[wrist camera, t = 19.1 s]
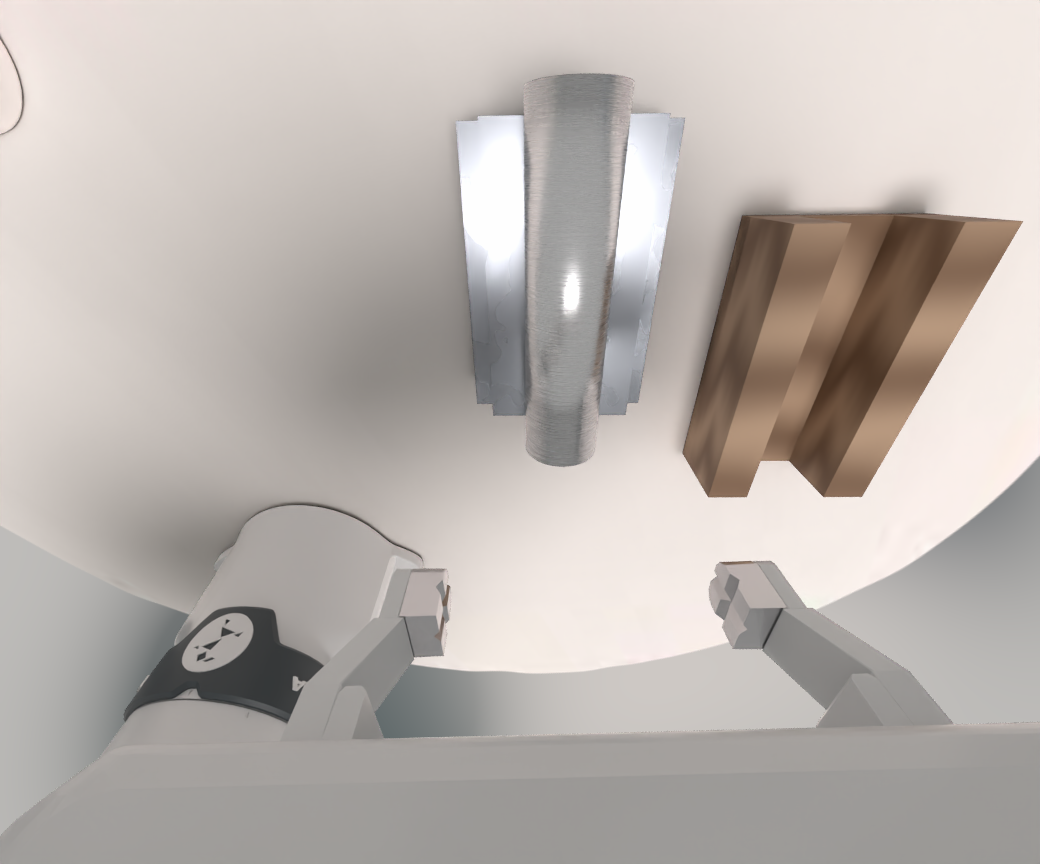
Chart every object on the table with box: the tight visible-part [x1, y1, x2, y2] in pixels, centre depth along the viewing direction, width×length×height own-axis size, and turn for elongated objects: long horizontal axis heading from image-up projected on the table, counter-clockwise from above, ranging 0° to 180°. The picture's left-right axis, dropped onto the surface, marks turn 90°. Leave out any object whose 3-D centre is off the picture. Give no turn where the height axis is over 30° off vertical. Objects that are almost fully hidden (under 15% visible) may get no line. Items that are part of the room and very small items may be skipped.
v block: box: [456, 113, 685, 416], centre depth 22 cm, size 14×10×4 cm
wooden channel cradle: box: [683, 213, 1023, 497], centre depth 24 cm, size 16×10×5 cm, turn 1°
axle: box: [524, 74, 634, 467], centre depth 19 cm, size 16×4×4 cm, turn 1°
